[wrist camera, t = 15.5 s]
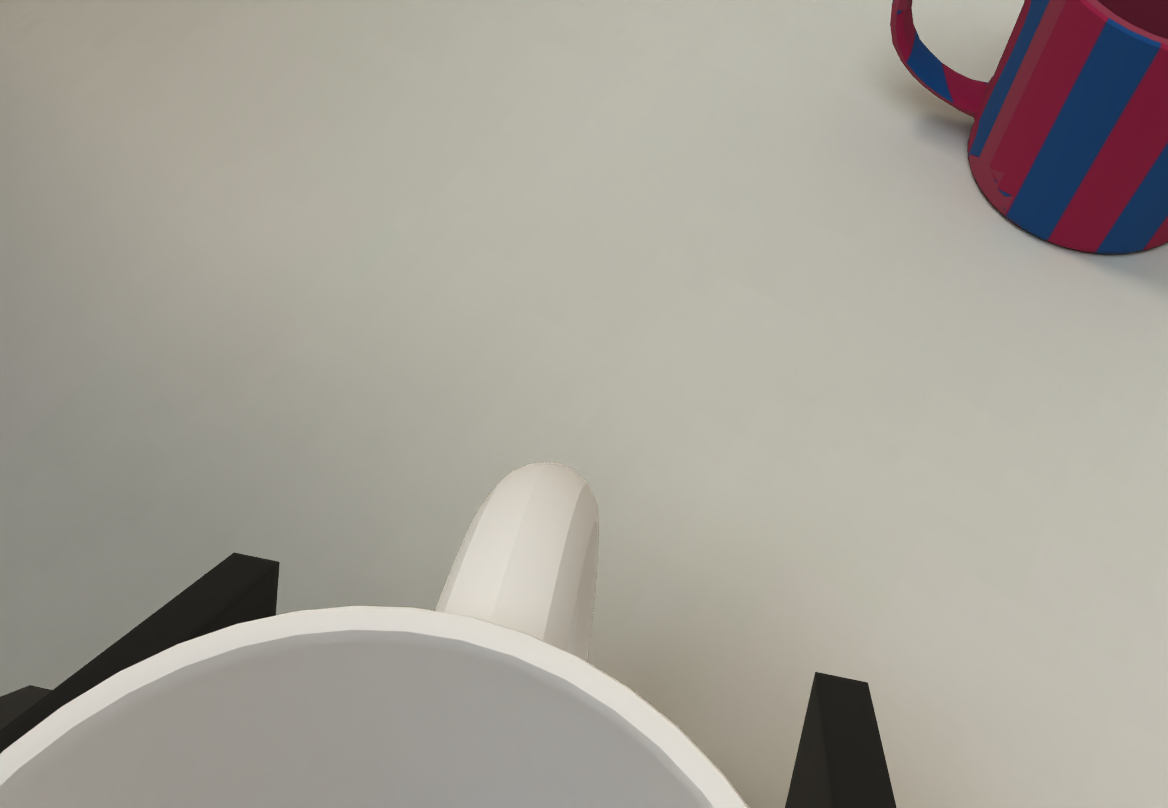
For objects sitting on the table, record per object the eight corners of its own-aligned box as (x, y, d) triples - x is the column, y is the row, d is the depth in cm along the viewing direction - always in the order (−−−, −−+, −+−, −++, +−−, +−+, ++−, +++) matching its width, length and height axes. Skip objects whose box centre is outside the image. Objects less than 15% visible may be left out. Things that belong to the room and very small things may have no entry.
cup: (1165, 292, 28) (1317, 100, 22) (827, 153, 31) (883, -51, 25) (1226, 140, 31) (1374, -66, 25) (913, 25, 33) (981, -184, 28)
